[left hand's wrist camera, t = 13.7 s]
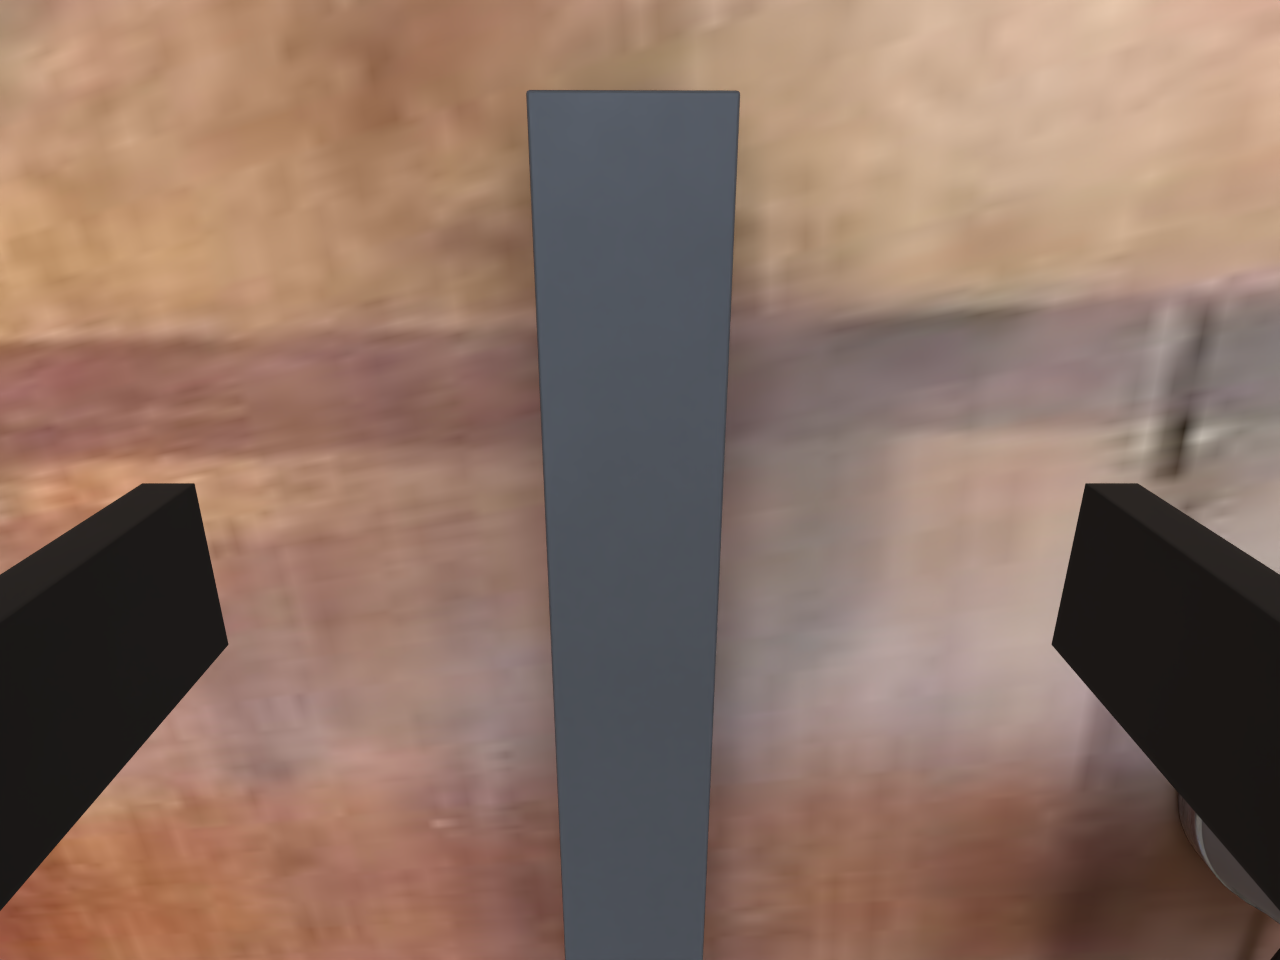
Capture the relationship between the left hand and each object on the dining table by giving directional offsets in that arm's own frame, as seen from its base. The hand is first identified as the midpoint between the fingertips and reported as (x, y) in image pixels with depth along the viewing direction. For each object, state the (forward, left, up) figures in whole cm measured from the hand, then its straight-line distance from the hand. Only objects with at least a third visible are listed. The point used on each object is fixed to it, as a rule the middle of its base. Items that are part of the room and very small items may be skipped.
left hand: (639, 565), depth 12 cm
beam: (-29, +6, -20) cm, 36 cm away
